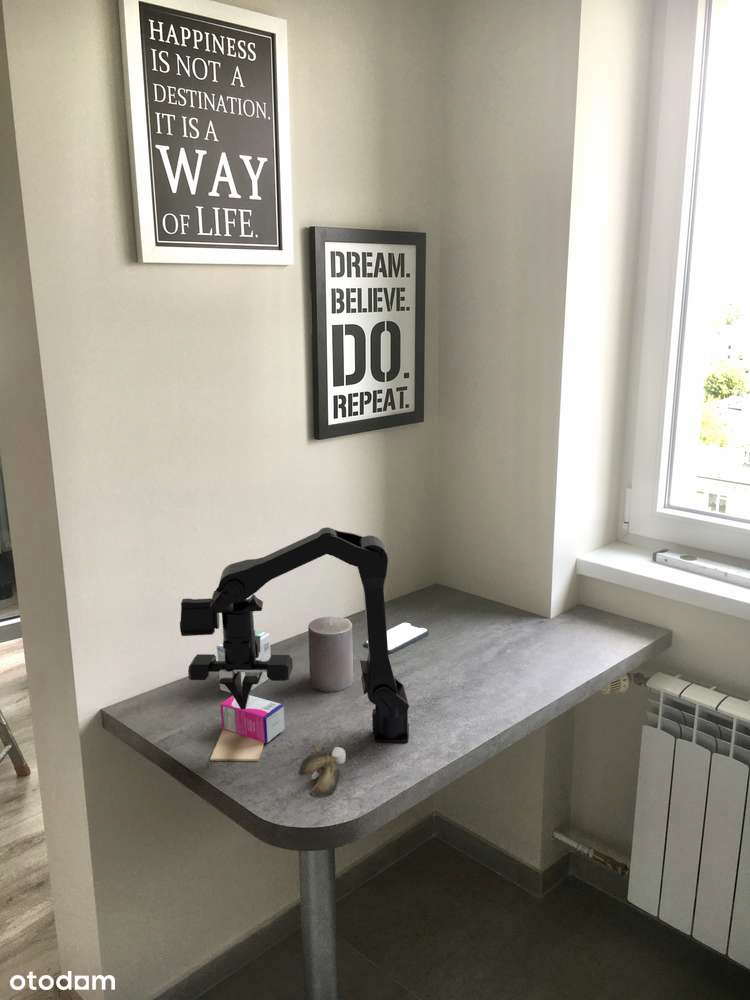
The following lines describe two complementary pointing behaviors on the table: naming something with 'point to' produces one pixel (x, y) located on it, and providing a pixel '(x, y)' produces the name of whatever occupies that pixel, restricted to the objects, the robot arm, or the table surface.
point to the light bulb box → (263, 656)
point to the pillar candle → (330, 653)
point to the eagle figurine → (323, 769)
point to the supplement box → (253, 718)
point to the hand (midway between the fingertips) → (243, 708)
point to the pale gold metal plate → (236, 748)
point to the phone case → (403, 636)
